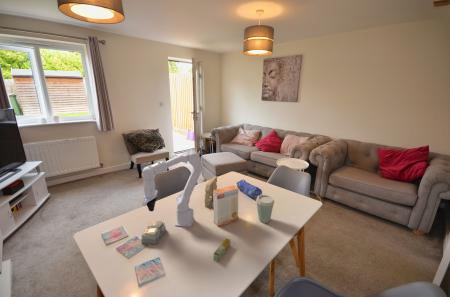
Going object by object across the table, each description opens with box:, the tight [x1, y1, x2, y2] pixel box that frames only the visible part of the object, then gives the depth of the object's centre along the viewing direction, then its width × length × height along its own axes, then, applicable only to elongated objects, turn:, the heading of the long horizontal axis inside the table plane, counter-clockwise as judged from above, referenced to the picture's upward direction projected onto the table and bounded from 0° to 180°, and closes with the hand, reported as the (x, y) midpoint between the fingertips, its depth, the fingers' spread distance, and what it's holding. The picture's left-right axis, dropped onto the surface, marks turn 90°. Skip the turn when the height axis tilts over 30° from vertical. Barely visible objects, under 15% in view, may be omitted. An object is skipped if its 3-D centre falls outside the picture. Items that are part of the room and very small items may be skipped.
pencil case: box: [236, 178, 263, 201], centre depth 154 cm, size 22×9×10 cm, turn 32°
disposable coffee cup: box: [255, 193, 275, 224], centre depth 120 cm, size 11×11×15 cm
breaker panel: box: [140, 221, 166, 245], centre depth 107 cm, size 8×12×5 cm, turn 174°
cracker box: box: [212, 185, 239, 227], centre depth 119 cm, size 14×6×21 cm, turn 119°
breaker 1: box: [148, 219, 163, 227], centre depth 110 cm, size 6×3×2 cm, turn 84°
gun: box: [204, 175, 218, 208], centre depth 146 cm, size 24×3×15 cm, turn 168°
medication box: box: [213, 237, 231, 263], centre depth 96 cm, size 12×3×4 cm, turn 152°
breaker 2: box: [142, 228, 158, 235], centre depth 104 cm, size 6×3×2 cm, turn 85°
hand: (151, 210), depth 113 cm, fingers closed
